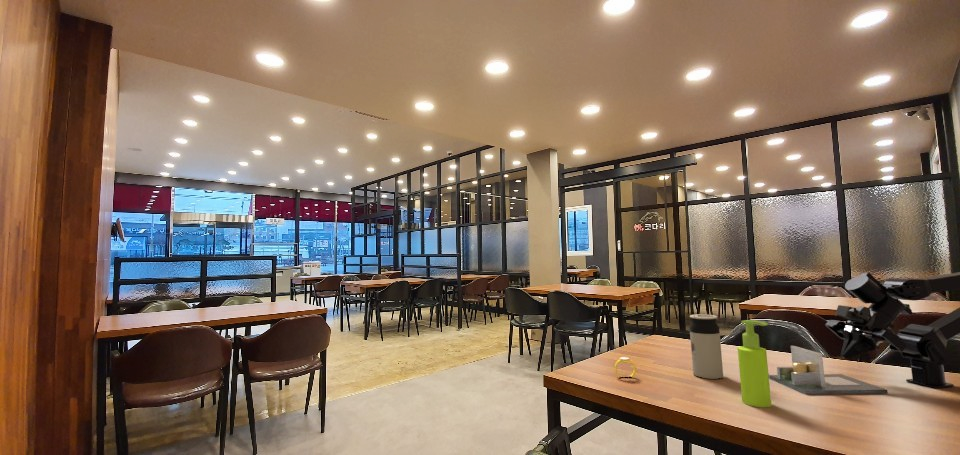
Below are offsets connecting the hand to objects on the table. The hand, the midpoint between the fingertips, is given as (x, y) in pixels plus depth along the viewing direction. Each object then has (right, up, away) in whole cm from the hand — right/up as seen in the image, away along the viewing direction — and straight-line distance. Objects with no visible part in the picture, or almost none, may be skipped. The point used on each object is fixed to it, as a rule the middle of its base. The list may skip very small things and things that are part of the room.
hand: (842, 357), depth 108 cm
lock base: (-5, -8, 0) cm, 9 cm away
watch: (-55, -11, +13) cm, 57 cm away
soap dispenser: (-31, -8, -12) cm, 35 cm away
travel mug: (-30, -10, +12) cm, 34 cm away
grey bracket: (-12, -7, 0) cm, 14 cm away
